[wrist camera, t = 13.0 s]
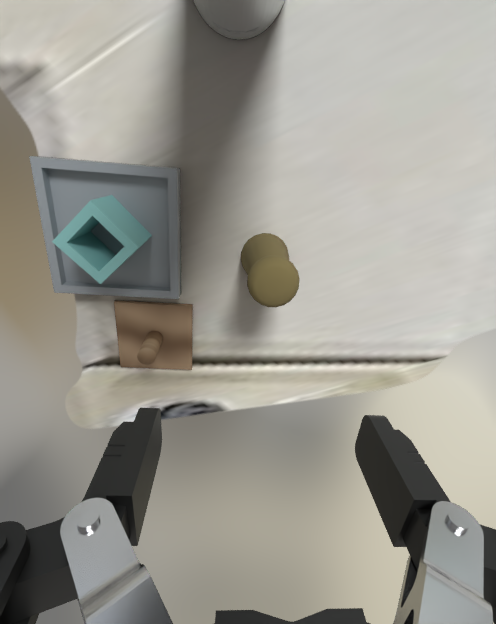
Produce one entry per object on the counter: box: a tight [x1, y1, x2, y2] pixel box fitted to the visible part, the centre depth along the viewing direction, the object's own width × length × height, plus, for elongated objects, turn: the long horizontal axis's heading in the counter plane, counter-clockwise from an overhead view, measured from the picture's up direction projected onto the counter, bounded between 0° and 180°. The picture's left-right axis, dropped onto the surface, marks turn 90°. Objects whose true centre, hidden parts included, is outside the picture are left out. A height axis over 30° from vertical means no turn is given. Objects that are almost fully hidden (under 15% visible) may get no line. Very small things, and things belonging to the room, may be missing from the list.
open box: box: [52, 195, 152, 284], centre depth 35 cm, size 8×6×6 cm
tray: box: [30, 156, 181, 299], centre depth 38 cm, size 15×15×2 cm
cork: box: [241, 233, 299, 307], centre depth 36 cm, size 6×6×11 cm
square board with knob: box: [114, 300, 193, 370], centre depth 42 cm, size 10×10×6 cm
